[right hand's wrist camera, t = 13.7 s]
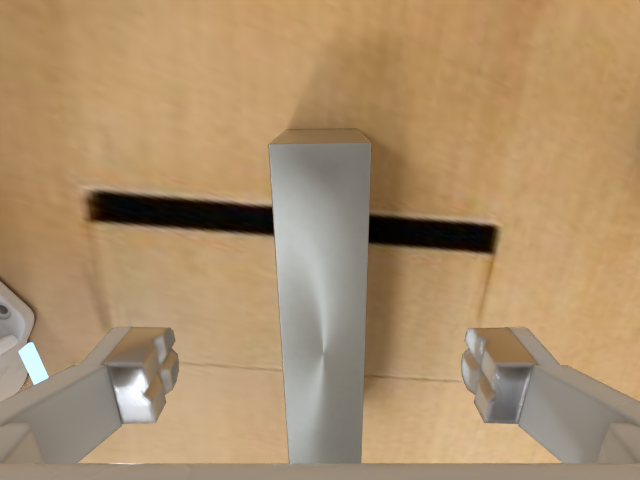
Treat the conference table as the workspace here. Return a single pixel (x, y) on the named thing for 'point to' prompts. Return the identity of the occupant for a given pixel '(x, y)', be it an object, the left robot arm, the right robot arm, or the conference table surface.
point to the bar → (322, 287)
